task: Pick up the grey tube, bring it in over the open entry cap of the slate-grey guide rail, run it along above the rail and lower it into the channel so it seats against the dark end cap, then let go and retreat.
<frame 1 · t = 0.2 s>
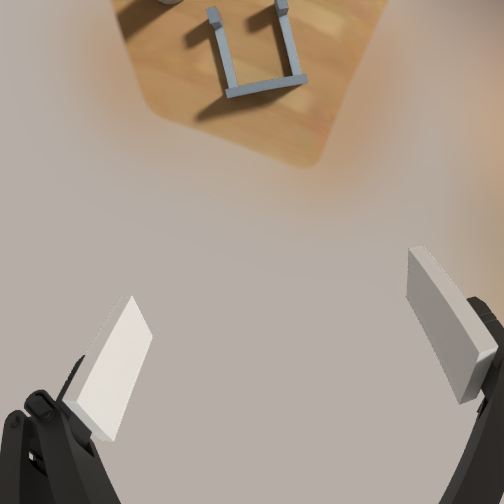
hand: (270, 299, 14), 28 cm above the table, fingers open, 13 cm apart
endcap rail: (257, 47, 32), on the table
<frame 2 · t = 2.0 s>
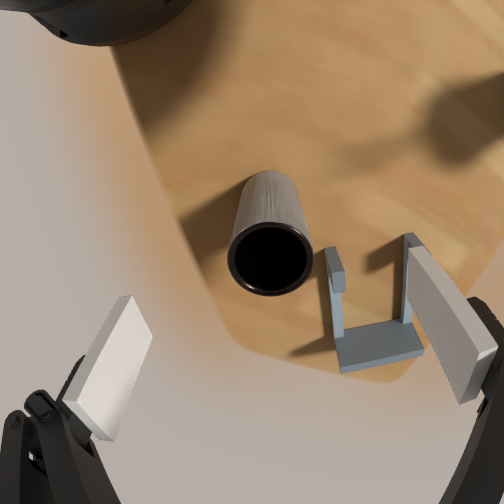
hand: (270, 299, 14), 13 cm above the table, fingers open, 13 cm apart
grey tube: (269, 196, 26), on the table
endcap rail: (372, 290, 30), on the table
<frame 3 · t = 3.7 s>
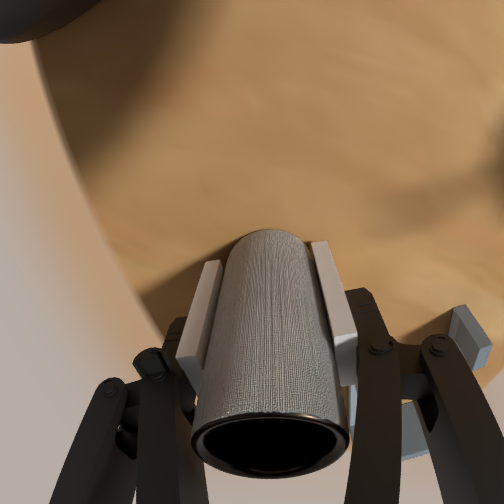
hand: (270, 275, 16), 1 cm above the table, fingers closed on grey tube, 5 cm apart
grey tube: (270, 266, 17), on the table, touching gripper
endcap rail: (403, 373, 21), on the table
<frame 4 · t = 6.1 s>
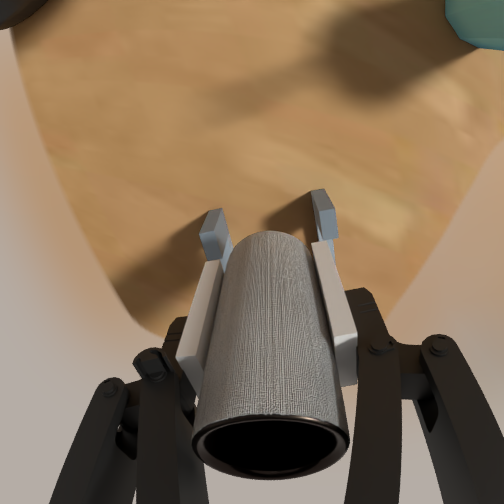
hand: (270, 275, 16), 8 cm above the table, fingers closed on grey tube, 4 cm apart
grey tube: (270, 267, 17), point 7 cm above the table, touching gripper
cup: (461, 17, 15), on the table
endcap rail: (279, 264, 25), on the table
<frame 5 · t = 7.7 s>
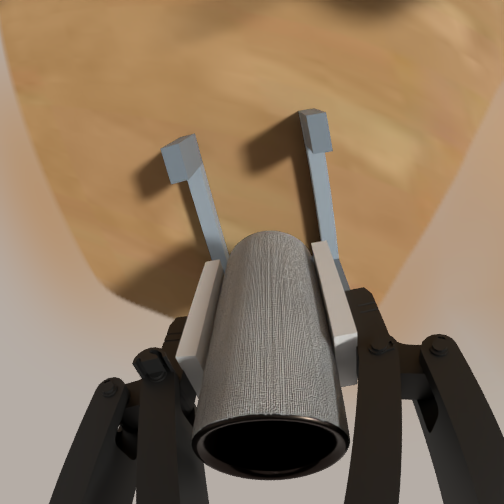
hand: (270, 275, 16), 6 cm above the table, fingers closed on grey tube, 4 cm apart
grey tube: (270, 267, 17), point 5 cm above the table, touching gripper
endcap rail: (264, 203, 21), on the table
when the fingers open (2 cm above the table, at t = 8.7 s): grey tube drops 1 cm, resting in endcap rail.
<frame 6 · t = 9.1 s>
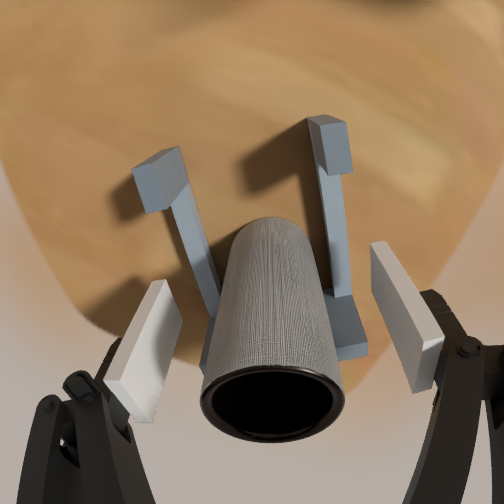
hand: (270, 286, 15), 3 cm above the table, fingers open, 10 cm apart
grey tube: (271, 252, 18), resting in endcap rail
endcap rail: (264, 230, 17), on the table
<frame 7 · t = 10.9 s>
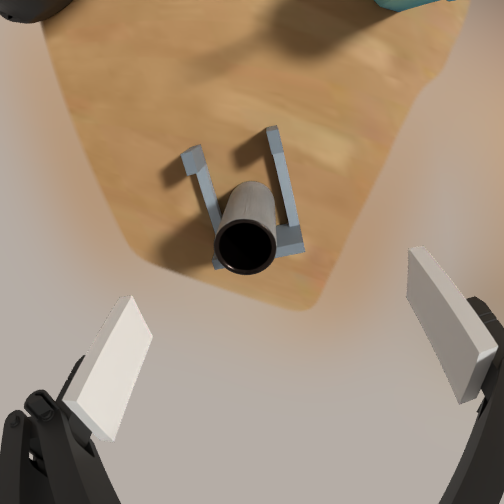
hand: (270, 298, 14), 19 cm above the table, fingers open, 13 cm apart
grey tube: (251, 201, 32), resting in endcap rail
endcap rail: (247, 188, 32), on the table
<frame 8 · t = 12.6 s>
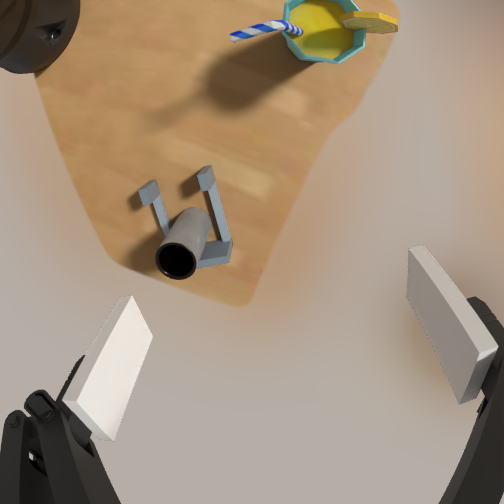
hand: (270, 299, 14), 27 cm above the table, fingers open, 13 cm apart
grey tube: (195, 222, 42), resting in endcap rail
cup: (302, 43, 31), on the table
endcap rail: (191, 212, 41), on the table
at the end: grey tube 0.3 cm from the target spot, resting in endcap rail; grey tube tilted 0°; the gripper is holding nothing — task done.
